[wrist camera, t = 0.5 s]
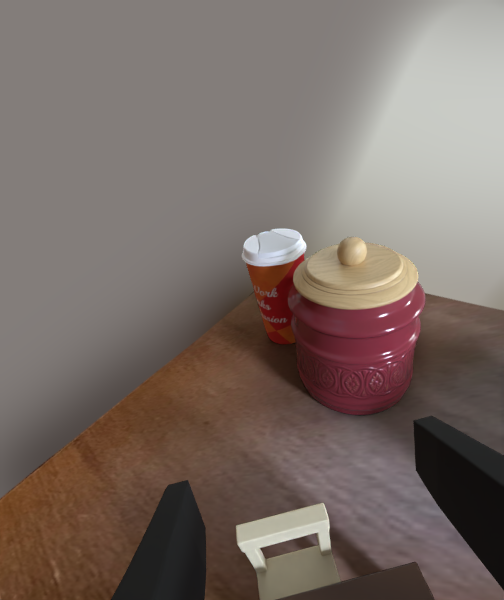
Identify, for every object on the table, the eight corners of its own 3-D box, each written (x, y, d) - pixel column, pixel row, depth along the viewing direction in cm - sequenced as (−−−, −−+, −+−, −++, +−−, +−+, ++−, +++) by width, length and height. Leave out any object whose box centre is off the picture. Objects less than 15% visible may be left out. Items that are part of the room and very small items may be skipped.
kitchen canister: (402, 337, 39) (420, 206, 29) (420, 427, 29) (456, 273, 19) (305, 333, 43) (291, 218, 33) (290, 410, 33) (265, 277, 23)
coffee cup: (252, 324, 47) (232, 238, 39) (299, 308, 48) (288, 221, 40) (271, 358, 40) (251, 263, 32) (324, 338, 41) (318, 241, 33)
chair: (263, 575, 22) (235, 525, 16) (330, 557, 22) (323, 501, 17) (280, 692, 18) (248, 677, 12) (363, 669, 18) (369, 644, 12)
